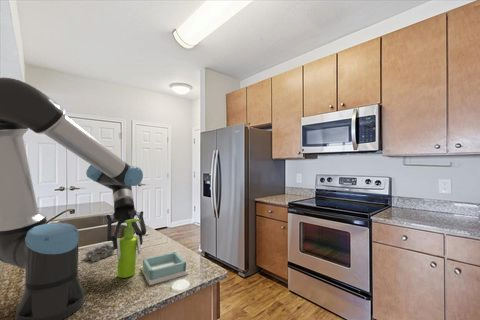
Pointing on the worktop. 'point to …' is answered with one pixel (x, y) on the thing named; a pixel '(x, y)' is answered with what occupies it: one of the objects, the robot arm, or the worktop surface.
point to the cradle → (163, 268)
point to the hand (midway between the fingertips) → (129, 254)
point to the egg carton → (99, 252)
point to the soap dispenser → (127, 251)
